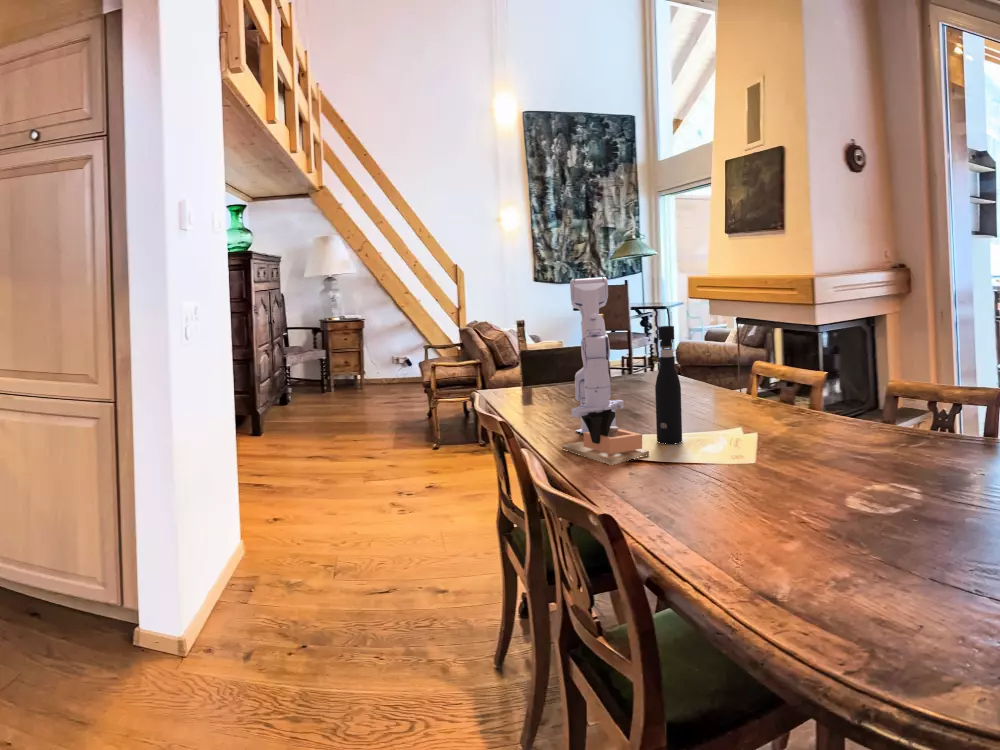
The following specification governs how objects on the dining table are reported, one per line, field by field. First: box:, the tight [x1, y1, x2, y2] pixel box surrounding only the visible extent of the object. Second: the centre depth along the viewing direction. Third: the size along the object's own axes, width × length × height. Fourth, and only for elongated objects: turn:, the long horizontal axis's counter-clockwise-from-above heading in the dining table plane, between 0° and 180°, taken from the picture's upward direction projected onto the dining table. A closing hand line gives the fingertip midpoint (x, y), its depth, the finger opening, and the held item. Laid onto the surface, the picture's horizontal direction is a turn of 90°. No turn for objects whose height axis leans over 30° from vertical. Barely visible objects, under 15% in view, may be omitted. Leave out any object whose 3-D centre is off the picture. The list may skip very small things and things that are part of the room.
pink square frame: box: [583, 428, 643, 454], centre depth 155 cm, size 10×10×4 cm
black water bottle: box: [654, 325, 683, 445], centre depth 163 cm, size 6×6×30 cm
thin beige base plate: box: [561, 426, 650, 466], centre depth 158 cm, size 12×19×7 cm, turn 30°
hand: (599, 442), depth 153 cm, fingers closed on pink square frame, 2 cm apart
